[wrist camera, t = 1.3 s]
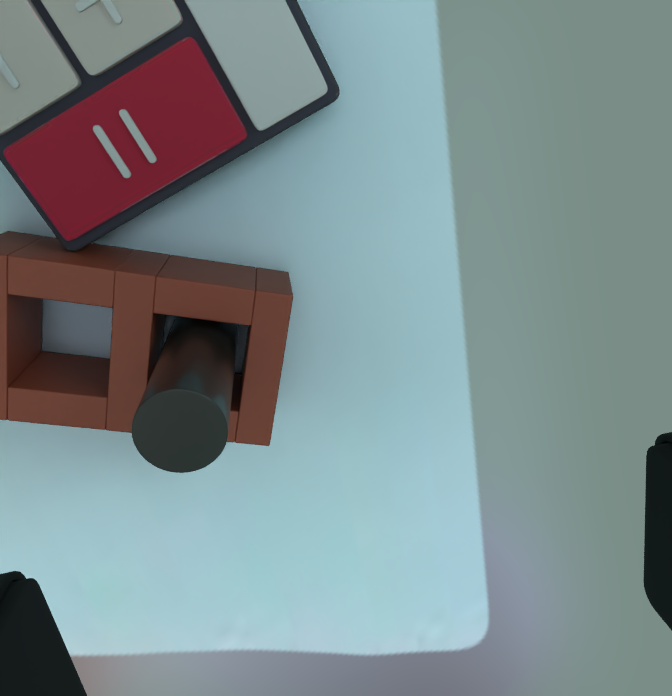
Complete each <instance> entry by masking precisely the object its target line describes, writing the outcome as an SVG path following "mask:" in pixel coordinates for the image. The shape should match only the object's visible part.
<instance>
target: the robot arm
mask: <svg viewBox="0 0 672 696" xmlns="http://www.w3.org/2000/svg"><path fill="white" fill-rule="evenodd" d="M646 460H647V461H646V504H645V548H644V551H645V552H644V587H645V592H646V594H647V597H648V599H649V601H650V603H651V605H652V606H653V608H654V609H655V610H656V612H657V613H658V614H659V615H660V617H661V618H662V619H663V620H664V622H665V623H666V624H667V625H668V626H669V628H670V629H671V630H672V432H670V433H665V434H661V435H660V436H658V437H657V439H656V441H655V446H651V447H650V448H649V449H648V451H647V456H646ZM0 696H87V694H86V692H85V690H84V688H83V685H82V683H81V681H80V678H79V676H78V674H77V671H76V669H75V667H74V665H73V662H72V660H71V657H70V655H69V653H68V651H67V648H66V646H65V644H64V641H63V639H62V637H61V634H60V632H59V630H58V628H57V625H56V623H55V621H54V618H53V616H52V614H51V611H50V609H49V607H48V605H47V602H46V600H45V598H44V595H43V593H42V591H41V588H40V586H39V584H38V583H37V581H36V580H35V579H32V578H29V579H26V578H25V576H24V575H23V574H22V573H21V572H18V571H13V572H8V573H3V574H0Z"/></svg>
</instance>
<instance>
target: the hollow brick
mask: <svg viewBox="0 0 672 696" xmlns="http://www.w3.org/2000/svg"><path fill="white" fill-rule="evenodd" d="M43 299H49V300H57V301H65V302H72V303H80V304H88V305H95V306H103V307H111V308H112V307H113V318H112V335H111V352H110V359H104V358H95V357H87V356H78V355H69V354H61V353H52V352H44V351H43V352H41V349H42V300H43ZM292 301H293V294H292V289H291V283H290V278H289V273H288V272H284V271H277V270H270V269H263V268H255V267H249V266H243V265H236V264H229V263H222V262H215V261H209V260H202V259H195V258H188V257H181V256H174V255H171V256H170V255H168V254H162V253H155V252H148V251H141V250H134V249H127V248H120V247H113V246H107V245H100V244H93V243H89V244H88V245H86V246H84V247H83V248H81V249H79V250H76V251H69V250H67V249H66V248H65V247H64V246H63V245H62V244H61V242H60V241H59V240H58V238H52V237H43V236H38V235H32V234H25V233H18V232H11V231H7V232H4V233H2V234H0V420H7V419H8V420H9V421H20V422H30V423H40V424H50V425H61V426H71V427H81V428H91V429H102V430H105V429H106V430H109V431H120V432H130V433H132V421H133V418H134V415H135V412H136V410H137V408H138V405H139V403H140V401H141V398H142V396H143V394H144V391H145V389H146V387H147V384H148V382H149V380H150V377H151V375H152V373H153V371H154V368H155V366H156V364H157V361H158V359H159V357H160V354H161V352H162V344H163V333H164V321H165V315H172V316H180V317H188V318H195V319H203V320H211V321H218V322H226V323H234V324H241V325H248V332H247V339H246V347H245V354H244V361H243V369H242V376H241V375H240V374H234V380H233V390H232V400H231V410H230V420H229V430H228V438H227V442H236V443H244V444H255V445H265V446H269V445H270V440H271V433H272V427H273V421H274V414H275V408H276V402H277V395H278V389H279V383H280V376H281V370H282V364H283V357H284V351H285V345H286V338H287V332H288V326H289V320H290V313H291V307H292Z"/></svg>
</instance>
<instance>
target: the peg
mask: <svg viewBox="0 0 672 696" xmlns="http://www.w3.org/2000/svg"><path fill="white" fill-rule="evenodd" d="M237 341H238V327H237V324H234V323H226V322H218V321H211V320H203V319H195V318H188V317H180V316H177V317H176V319H175V322H174V324H173V326H172V329H171V331H170V333H169V336H168V338H167V340H166V343H165V345H164V347H163V350H162V352H161V354H160V357H159V359H158V361H157V364H156V366H155V368H154V371H153V373H152V375H151V377H150V380H149V382H148V384H147V387H146V389H145V391H144V394H143V396H142V398H141V401H140V403H139V405H138V408H137V410H136V412H135V415H134V418H133V421H132V438H133V441H134V444H135V446H136V448H137V450H138V451H139V453H140V454H141V455H142V456H143V457H144V458H145V459H146V460H147V461H148V462H149V463H151V464H152V465H154V466H156V467H158V468H160V469H163V470H166V471H170V472H180V473H183V472H191V471H196V470H199V469H201V468H204V467H206V466H207V465H209V464H210V463H212V462H213V461H214V460H215V459H216V458H217V457H218V456H219V455H220V454H221V452H222V451H223V449H224V447H225V445H226V442H227V438H228V430H229V420H230V410H231V400H232V390H233V380H234V370H235V360H236V350H237Z"/></svg>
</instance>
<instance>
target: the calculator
mask: <svg viewBox="0 0 672 696" xmlns="http://www.w3.org/2000/svg"><path fill="white" fill-rule="evenodd" d="M338 96H339V87H338V84H337V82H336V80H335V78H334V76H333V74H332V72H331V70H330V68H329V66H328V64H327V62H326V60H325V58H324V55H323V53H322V51H321V49H320V47H319V45H318V43H317V41H316V39H315V37H314V35H313V33H312V31H311V29H310V27H309V25H308V23H307V21H306V19H305V17H304V15H303V13H302V11H301V9H300V6H299V4H298V2H297V0H0V160H1V161H2V163H3V164H4V165H5V167H6V168H7V170H8V171H9V172H10V174H11V175H12V176H13V178H14V179H15V181H16V182H17V183H18V185H19V186H20V187H21V189H22V190H23V192H24V193H25V194H26V196H27V197H28V198H29V200H30V201H31V203H32V204H33V205H34V207H35V208H36V209H37V211H38V212H39V214H40V215H41V216H42V218H43V219H44V220H45V222H46V223H47V225H48V226H49V227H50V229H51V230H52V231H53V233H54V234H55V235H56V237H57V238H58V240H59V241H60V242H61V244H62V245H63V246H64V247H65V248H66V249H67V250H69V251H76V250H79V249H81V248H83V247H84V246H86V245H88V244H89V243H91V242H93V241H95V240H96V239H98V238H100V237H102V236H103V235H105V234H107V233H108V232H110V231H112V230H114V229H115V228H117V227H119V226H120V225H122V224H124V223H126V222H127V221H129V220H131V219H133V218H134V217H136V216H138V215H139V214H141V213H143V212H145V211H146V210H148V209H150V208H151V207H153V206H155V205H157V204H158V203H160V202H162V201H164V200H165V199H167V198H169V197H170V196H172V195H174V194H176V193H177V192H179V191H181V190H183V189H184V188H186V187H188V186H189V185H191V184H193V183H195V182H196V181H198V180H200V179H201V178H203V177H205V176H207V175H208V174H210V173H212V172H214V171H215V170H217V169H219V168H220V167H222V166H224V165H226V164H227V163H229V162H231V161H232V160H234V159H236V158H238V157H239V156H241V155H243V154H245V153H246V152H248V151H250V150H251V149H253V148H255V147H257V146H258V145H260V144H262V143H263V142H265V141H267V140H269V139H270V138H272V137H274V136H276V135H277V134H279V133H281V132H282V131H284V130H286V129H288V128H289V127H291V126H293V125H295V124H296V123H298V122H300V121H301V120H303V119H305V118H307V117H308V116H310V115H312V114H313V113H315V112H317V111H319V110H320V109H322V108H324V107H326V106H327V105H329V104H331V103H332V102H334V101H335V100H336V99H337V98H338Z"/></svg>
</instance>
